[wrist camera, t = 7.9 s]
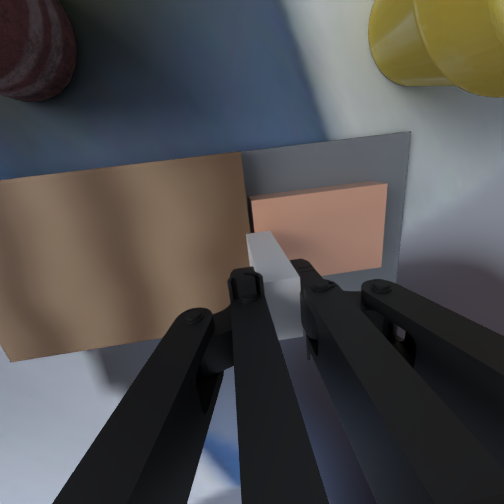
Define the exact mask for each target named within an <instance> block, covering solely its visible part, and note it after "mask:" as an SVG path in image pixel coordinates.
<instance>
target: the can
mask: <svg viewBox="0 0 504 504" xmlns="http://www.w3.org/2000/svg"><path fill="white" fill-rule="evenodd" d="M76 48H77V45H76V41H75V37H74V33H73V29H72V25H71V23H70V21H69V19H68V17H67V15H66V13H65V11H64V9H63V7H62V6H61V4H60V2H59V1H58V0H0V95H3V96H6V97H10V98H14V99H17V100H21V101H25V102H33V101H45V100H47V99H49V98H51V97H54V96H56V95H58V94H59V93H60V92H61V91H62V90H63V89H64V88H65V87H66V86H67V85H68V84H69V83H70V80H71V78H72V75H73V72H74V70H75V67H76Z"/></svg>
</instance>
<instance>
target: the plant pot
mask: <svg viewBox="0 0 504 504" xmlns="http://www.w3.org/2000/svg"><path fill="white" fill-rule="evenodd" d="M368 35H369V45H370V50H371V53H372V56H373V59H374V61H375V63H376V65H377V67H378V68H379V70H380V71H381V72H382V73H383V74H384V75H385V76H386V77H387V78H389V79H390V80H391V81H393V82H395V83H397V84H400V85H404V86H458V87H460V88H461V89H463V90H465V91H467V92H470V93H473V94H476V95H480V96H486V97H504V0H375V1H374V4H373V7H372V10H371V15H370V20H369V30H368Z"/></svg>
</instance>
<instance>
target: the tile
mask: <svg viewBox="0 0 504 504" xmlns="http://www.w3.org/2000/svg"><path fill="white" fill-rule="evenodd" d="M387 186H388V183H381V182H375V181H366V182H358V183H350V184H343V185H335V186H327V187H319V188H311V189H303V190H295V191H287V192H279V193H271V194H263V195H256V196H248V198H249V207H250V216H251V225H252V233H257V232H264V231H271V233H272V234H273V236H274V238H275V239H276V241H277V242H278V244H279V245H280V247H281V248H282V250H283V252H284V253H285V255H286V256H287V258H288V259H289V260H294V259H301V258H302V259H304V260H307V261H309V262H310V263H311V265H312V266H313V267H314V268H315V270H316V271H317V272H318V273H319V274H320V276H324V275H331V274H338V273H345V272H351V271H358V270H365V269H372V268H378V267H381V264H382V251H383V238H384V225H385V212H386V199H387Z"/></svg>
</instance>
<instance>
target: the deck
mask: <svg viewBox="0 0 504 504" xmlns="http://www.w3.org/2000/svg"><path fill="white" fill-rule="evenodd" d="M246 234H250V225H249V217H248V209H247V200H246V192H245V184H244V175H243V167H242V158H241V151H239V152H231V153H222V154H214V155H206V156H197V157H189V158H181V159H172V160H164V161H156V162H147V163H139V164H131V165H122V166H114V167H106V168H97V169H89V170H81V171H72V172H64V173H56V174H47V175H39V176H31V177H22V178H14V179H6V180H0V345H1V347H2V348H3V350H4V352H5V354H6V355H7V357H8V359H9V361H10V362H16V361H22V360H28V359H34V358H40V357H47V356H53V355H59V354H65V353H71V352H78V351H84V350H90V349H96V348H102V347H109V346H115V345H121V344H127V343H133V342H139V341H146V340H152V339H158V338H163V337H164V335H165V334H166V332H167V331H168V329H169V328H170V326H171V325H172V323H173V322H174V320H175V319H176V318H177V317H178V316H179V315H180V314H181V313H183V312H184V311H186V310H188V309H191V308H198V307H201V308H207V309H209V310H211V312H212V314H215V313H218V312H220V311H222V310H224V309H225V308H227V307H228V306H229V305H230V296H229V290H228V284H227V281H228V278H230V273H231V272H232V271H233V270H234V269H238V268H244V267H250V263H249V255H248V247H247V239H246Z"/></svg>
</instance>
